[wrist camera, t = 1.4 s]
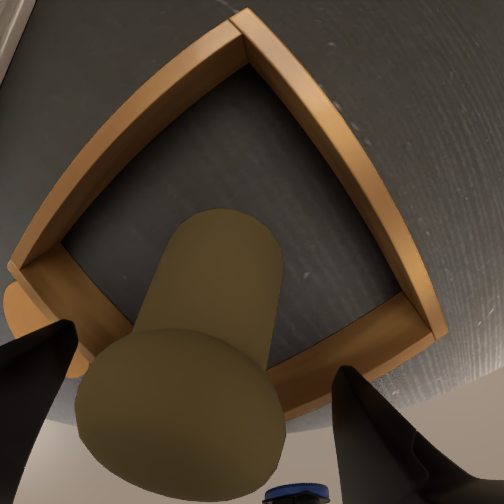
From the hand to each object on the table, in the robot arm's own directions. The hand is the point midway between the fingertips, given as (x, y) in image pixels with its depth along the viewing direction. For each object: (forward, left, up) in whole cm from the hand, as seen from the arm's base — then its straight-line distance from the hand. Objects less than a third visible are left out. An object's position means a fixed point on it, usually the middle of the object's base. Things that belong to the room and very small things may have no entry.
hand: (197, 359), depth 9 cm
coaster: (+4, +15, -7) cm, 17 cm away
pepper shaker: (0, 0, -7) cm, 7 cm away
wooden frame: (0, 0, -7) cm, 7 cm away
